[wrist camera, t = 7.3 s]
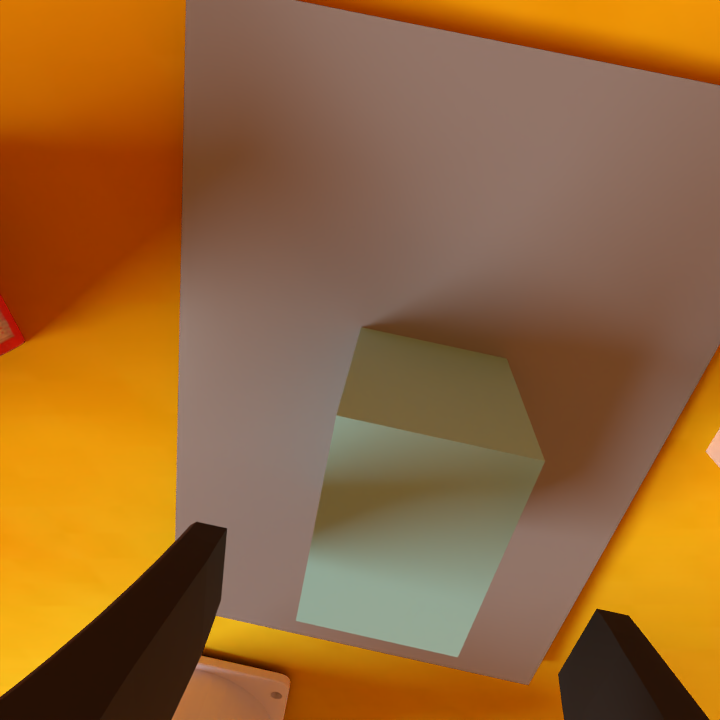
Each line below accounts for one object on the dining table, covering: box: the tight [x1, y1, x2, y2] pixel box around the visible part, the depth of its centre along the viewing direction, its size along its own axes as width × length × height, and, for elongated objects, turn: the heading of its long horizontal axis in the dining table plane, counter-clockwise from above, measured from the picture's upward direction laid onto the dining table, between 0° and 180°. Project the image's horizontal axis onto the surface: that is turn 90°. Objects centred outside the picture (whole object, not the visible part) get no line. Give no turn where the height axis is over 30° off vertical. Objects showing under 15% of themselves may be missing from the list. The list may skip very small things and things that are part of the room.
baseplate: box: [175, 0, 720, 685], centre depth 15 cm, size 20×14×1 cm
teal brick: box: [296, 327, 545, 657], centre depth 13 cm, size 6×4×4 cm, turn 169°
